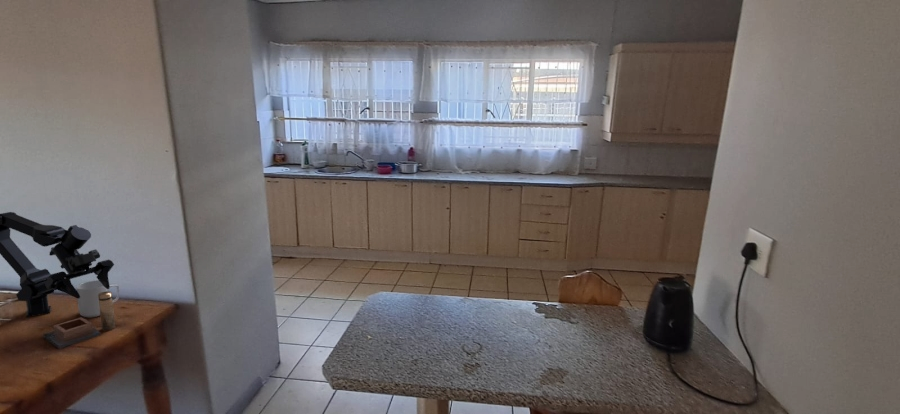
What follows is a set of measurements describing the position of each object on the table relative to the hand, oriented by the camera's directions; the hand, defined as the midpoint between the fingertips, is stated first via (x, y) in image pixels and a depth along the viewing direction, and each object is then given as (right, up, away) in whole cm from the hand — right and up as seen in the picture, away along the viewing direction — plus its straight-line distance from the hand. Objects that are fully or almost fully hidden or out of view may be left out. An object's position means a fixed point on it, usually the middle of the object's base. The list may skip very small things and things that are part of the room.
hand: (94, 293), depth 149 cm
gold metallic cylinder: (+5, -12, 0) cm, 13 cm away
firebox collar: (-2, -13, -5) cm, 14 cm away
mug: (-7, -10, +12) cm, 17 cm away
